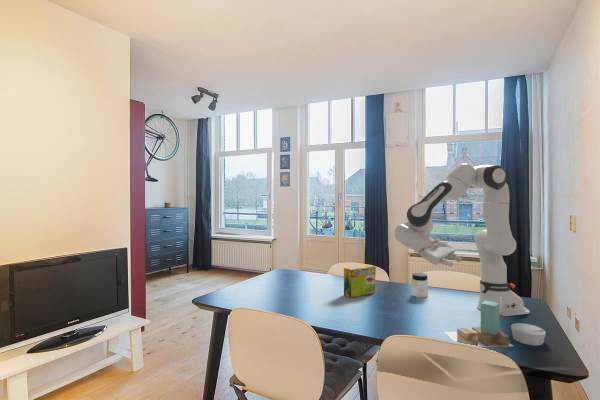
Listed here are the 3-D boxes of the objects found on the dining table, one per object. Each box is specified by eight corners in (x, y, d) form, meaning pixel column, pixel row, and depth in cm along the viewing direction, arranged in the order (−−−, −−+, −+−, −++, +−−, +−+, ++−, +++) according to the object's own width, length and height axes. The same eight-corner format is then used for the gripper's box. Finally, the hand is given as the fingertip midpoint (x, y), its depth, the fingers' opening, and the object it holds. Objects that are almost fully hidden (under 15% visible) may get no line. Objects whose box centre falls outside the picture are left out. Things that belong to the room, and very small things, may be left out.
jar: (413, 297, 188) (413, 276, 187) (409, 293, 196) (409, 272, 196) (430, 297, 187) (430, 276, 187) (425, 293, 195) (425, 272, 195)
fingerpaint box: (367, 290, 203) (367, 263, 203) (375, 292, 197) (375, 265, 197) (342, 295, 193) (342, 267, 193) (350, 298, 187) (350, 269, 187)
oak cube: (468, 340, 131) (468, 327, 131) (477, 345, 126) (477, 332, 126) (457, 341, 130) (457, 328, 130) (466, 347, 125) (466, 333, 125)
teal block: (485, 327, 134) (485, 300, 134) (499, 331, 131) (499, 303, 130) (480, 331, 131) (480, 303, 131) (494, 335, 127) (495, 306, 127)
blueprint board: (491, 332, 140) (491, 330, 140) (513, 348, 126) (513, 346, 126) (443, 333, 139) (443, 331, 139) (461, 349, 125) (461, 347, 125)
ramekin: (543, 351, 123) (543, 337, 123) (508, 342, 131) (508, 329, 131) (547, 341, 132) (547, 328, 132) (513, 333, 139) (513, 320, 139)
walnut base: (494, 335, 135) (494, 326, 135) (509, 345, 126) (509, 336, 126) (472, 336, 135) (472, 327, 135) (485, 346, 126) (485, 336, 126)
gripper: (419, 244, 144) (450, 261, 136) (438, 237, 159) (467, 252, 150) (414, 257, 146) (444, 274, 138) (433, 249, 161) (462, 264, 152)
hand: (456, 262), depth 144 cm, fingers open, 8 cm apart
